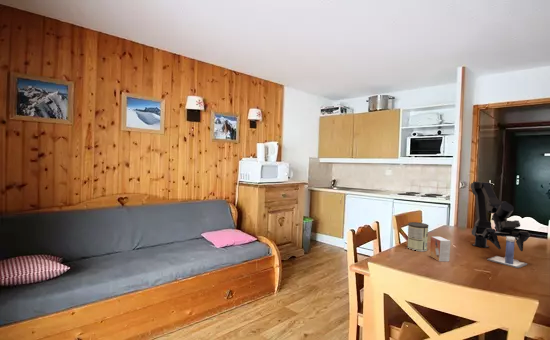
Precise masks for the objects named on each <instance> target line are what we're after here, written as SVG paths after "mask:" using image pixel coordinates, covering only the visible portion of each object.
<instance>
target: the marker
mask: <svg viewBox="0 0 550 340" xmlns="http://www.w3.org/2000/svg"><path fill="white" fill-rule="evenodd" d="M515 243H516V239H515V237H512V236H506V237H505V256H504V257H505V263H507V264H513V261H514V258H515V257H514V255H515Z"/></svg>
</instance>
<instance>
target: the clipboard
mask: <svg viewBox="0 0 550 340" xmlns="http://www.w3.org/2000/svg"><path fill="white" fill-rule="evenodd" d="M486 260H487V261H489V262H493V263H496V264H501V265H505V266H508V267H512V268H516V269H521V268H522V267H525V266H527V265H528V263H527V262H522V261H519V259H514V261H513V264H507V263H505V256H504V257H502V256H499V255H495V256H492V257H489V258H486Z"/></svg>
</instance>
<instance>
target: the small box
mask: <svg viewBox="0 0 550 340" xmlns="http://www.w3.org/2000/svg"><path fill="white" fill-rule="evenodd" d="M429 244H430V246H429V257H431V258H433V259H435V260H436V261H438V262H450V256H451V244H452V242H451V240H450V239H447V238H444V237H442V236H430V243H429Z"/></svg>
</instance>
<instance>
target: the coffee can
mask: <svg viewBox="0 0 550 340" xmlns="http://www.w3.org/2000/svg"><path fill="white" fill-rule="evenodd" d="M407 225H408V226H407V228H408V229H407V246H406V248H407V249H408V248H409V249H408V250H410V249H412V250H411V251H414V250H416V251H415V252H427V251H428V241H429V240H428V239H429V237H428V235H429V227H430V226H429V224H428V223H424V222H417V221H416V222H415V221H414V222H413V221H412V222H411V221H410V222H408V223H407Z"/></svg>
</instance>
